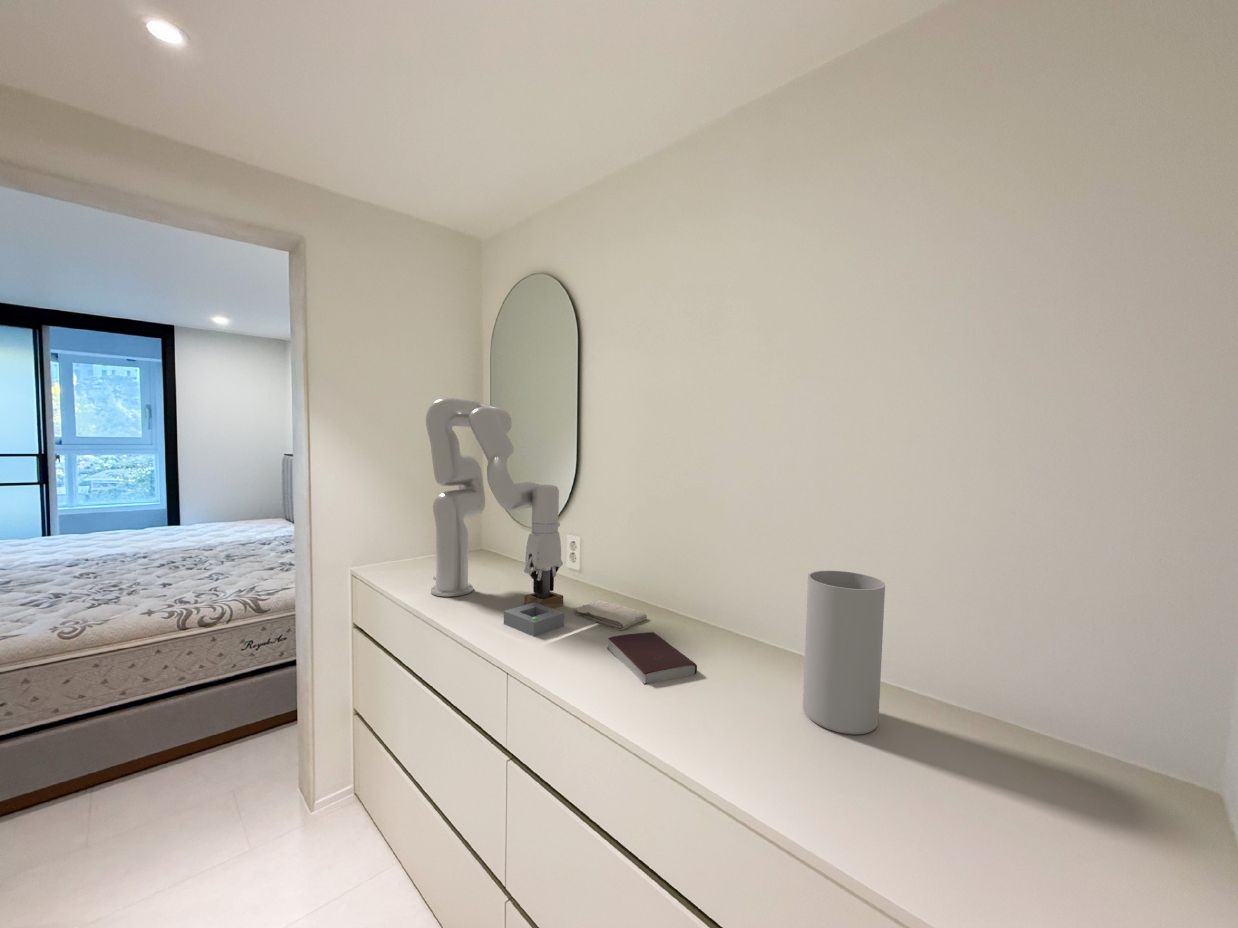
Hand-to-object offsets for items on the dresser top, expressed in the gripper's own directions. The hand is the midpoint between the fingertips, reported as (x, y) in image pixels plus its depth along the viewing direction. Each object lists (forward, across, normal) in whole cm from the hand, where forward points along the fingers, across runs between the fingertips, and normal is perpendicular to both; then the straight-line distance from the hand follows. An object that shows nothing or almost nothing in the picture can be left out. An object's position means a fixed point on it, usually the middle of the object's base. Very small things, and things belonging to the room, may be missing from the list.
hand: (543, 590), depth 149 cm
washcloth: (+5, -7, +19) cm, 21 cm away
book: (+5, +7, +44) cm, 45 cm away
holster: (+5, 0, 0) cm, 5 cm away
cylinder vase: (+4, +2, +83) cm, 83 cm away
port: (+5, +12, +10) cm, 16 cm away
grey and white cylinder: (+4, 0, 0) cm, 4 cm away
